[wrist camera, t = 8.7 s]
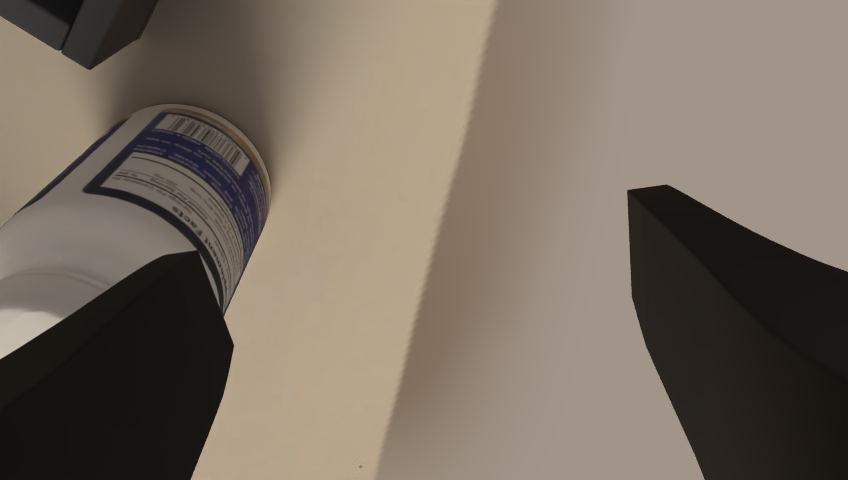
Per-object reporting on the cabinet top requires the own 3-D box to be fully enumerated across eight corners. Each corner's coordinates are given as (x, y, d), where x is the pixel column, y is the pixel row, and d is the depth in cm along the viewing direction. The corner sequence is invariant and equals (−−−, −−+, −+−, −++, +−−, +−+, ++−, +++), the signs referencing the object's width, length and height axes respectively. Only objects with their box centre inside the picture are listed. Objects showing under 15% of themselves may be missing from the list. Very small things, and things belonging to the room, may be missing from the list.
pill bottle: (145, 268, 24) (-15, 500, 16) (72, 120, 22) (-165, 303, 13) (297, 239, 24) (214, 466, 15) (240, 81, 21) (102, 249, 13)
